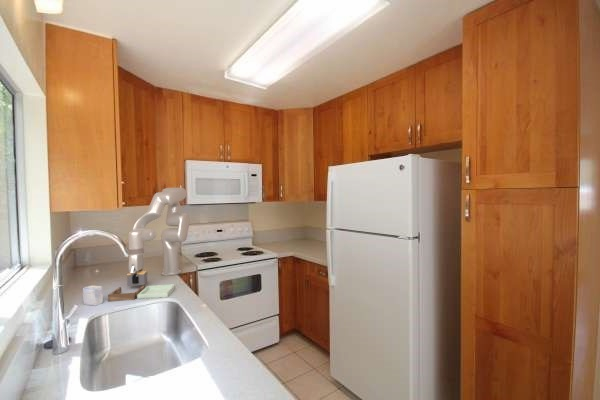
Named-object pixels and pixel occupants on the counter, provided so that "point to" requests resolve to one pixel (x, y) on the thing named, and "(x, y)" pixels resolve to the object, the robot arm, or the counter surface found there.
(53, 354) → the counter surface
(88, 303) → the medicine box
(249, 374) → the counter surface
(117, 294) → the bay
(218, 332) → the counter surface
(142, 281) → the caddy
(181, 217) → the robot arm
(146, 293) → the tray
